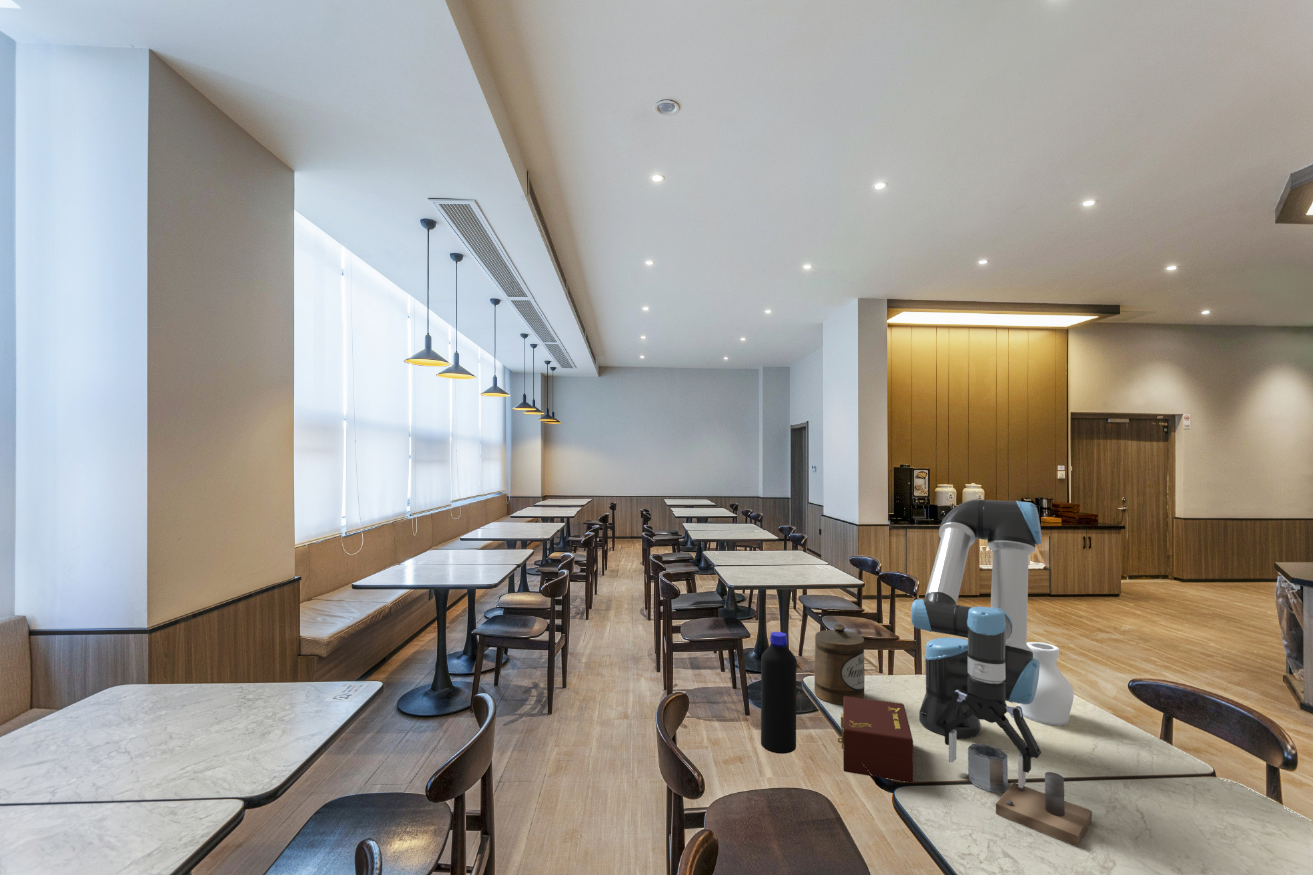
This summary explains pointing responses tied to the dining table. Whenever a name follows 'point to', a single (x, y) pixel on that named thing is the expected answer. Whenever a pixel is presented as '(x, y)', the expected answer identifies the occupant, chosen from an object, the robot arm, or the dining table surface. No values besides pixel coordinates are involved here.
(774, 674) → the bottle
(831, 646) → the wooden container
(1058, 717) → the vase
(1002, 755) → the hub
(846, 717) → the box
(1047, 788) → the shaft block
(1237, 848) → the dining table surface
